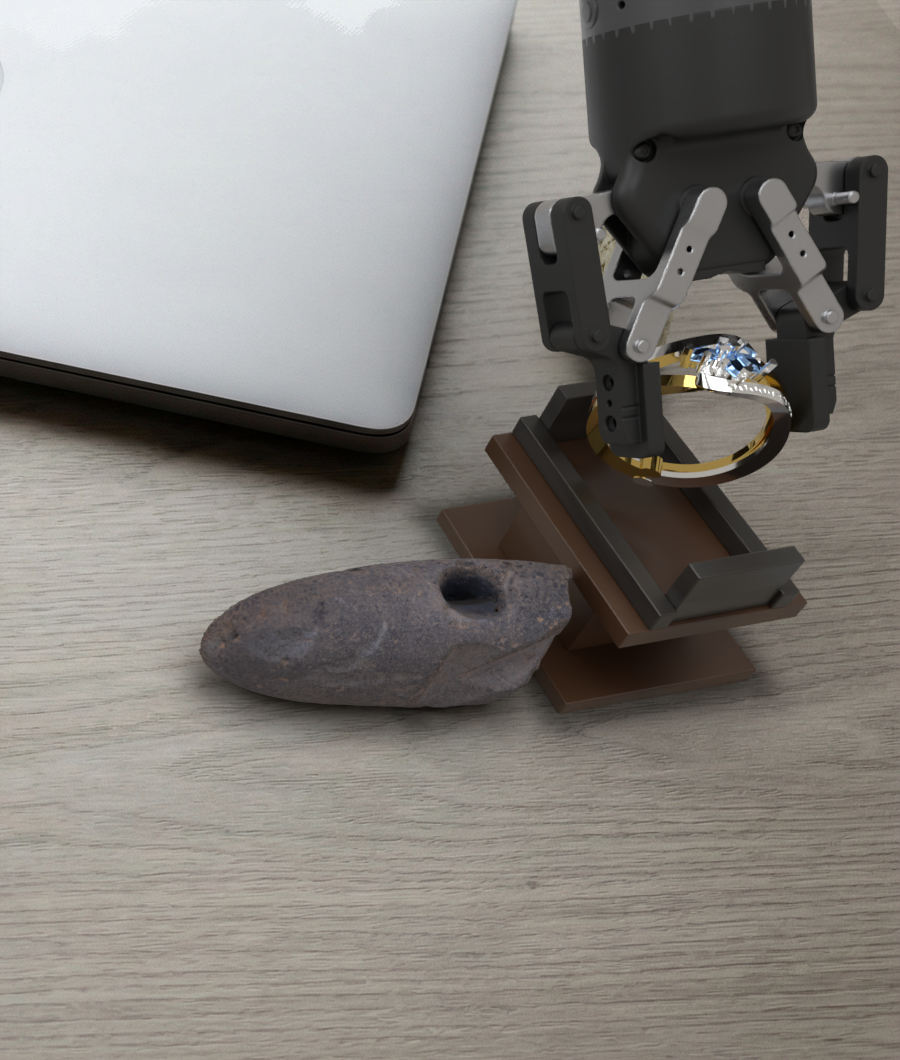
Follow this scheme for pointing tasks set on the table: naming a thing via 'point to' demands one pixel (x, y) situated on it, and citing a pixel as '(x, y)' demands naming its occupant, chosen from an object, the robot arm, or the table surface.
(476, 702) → the perforated stone tool
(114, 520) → the table surface
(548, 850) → the table surface
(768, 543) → the table surface
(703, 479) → the ring
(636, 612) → the stand
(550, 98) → the table surface
